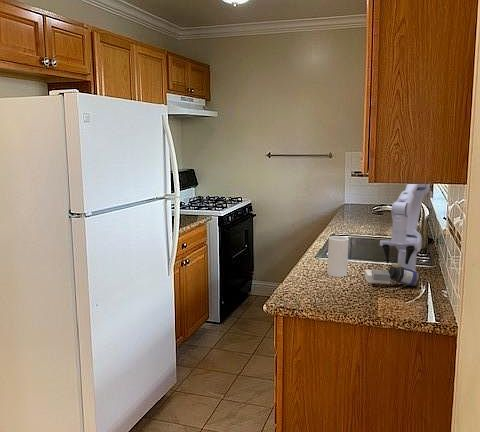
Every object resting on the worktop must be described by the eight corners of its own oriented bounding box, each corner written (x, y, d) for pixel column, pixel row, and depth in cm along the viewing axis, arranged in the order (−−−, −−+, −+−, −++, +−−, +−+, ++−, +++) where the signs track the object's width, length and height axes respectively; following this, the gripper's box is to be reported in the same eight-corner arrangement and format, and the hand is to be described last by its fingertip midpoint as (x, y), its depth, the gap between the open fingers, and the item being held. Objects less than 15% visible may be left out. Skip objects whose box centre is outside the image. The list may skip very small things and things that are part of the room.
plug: (390, 277, 199) (391, 263, 198) (399, 278, 199) (400, 264, 198) (392, 280, 196) (393, 266, 195) (401, 280, 195) (402, 266, 194)
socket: (364, 276, 200) (365, 269, 200) (386, 277, 199) (387, 270, 199) (367, 282, 192) (367, 275, 191) (390, 283, 190) (390, 276, 190)
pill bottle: (411, 281, 191) (385, 274, 190) (417, 268, 189) (391, 261, 188) (415, 289, 186) (389, 282, 185) (422, 277, 183) (395, 269, 182)
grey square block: (371, 275, 190) (372, 270, 190) (387, 276, 189) (387, 270, 189) (373, 280, 184) (374, 274, 184) (389, 280, 183) (390, 274, 183)
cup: (334, 271, 208) (336, 235, 206) (350, 274, 202) (352, 238, 200) (323, 274, 202) (325, 237, 200) (339, 278, 197) (341, 240, 194)
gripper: (382, 231, 191) (380, 264, 193) (420, 233, 189) (417, 266, 191) (379, 228, 198) (377, 260, 200) (416, 230, 196) (413, 262, 198)
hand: (396, 263), depth 196 cm, fingers open, 7 cm apart
